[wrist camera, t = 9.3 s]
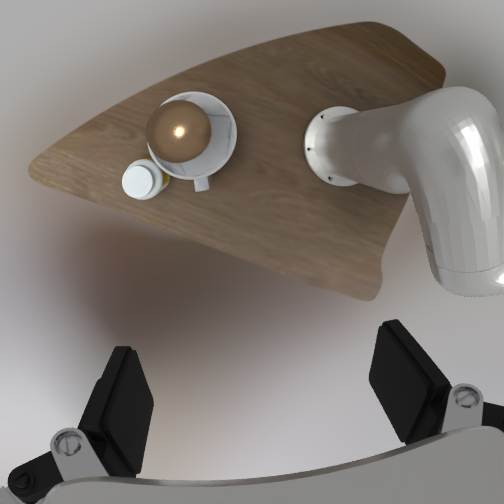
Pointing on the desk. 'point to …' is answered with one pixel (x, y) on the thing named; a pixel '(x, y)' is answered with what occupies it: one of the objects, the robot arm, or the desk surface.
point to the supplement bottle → (144, 179)
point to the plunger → (178, 131)
